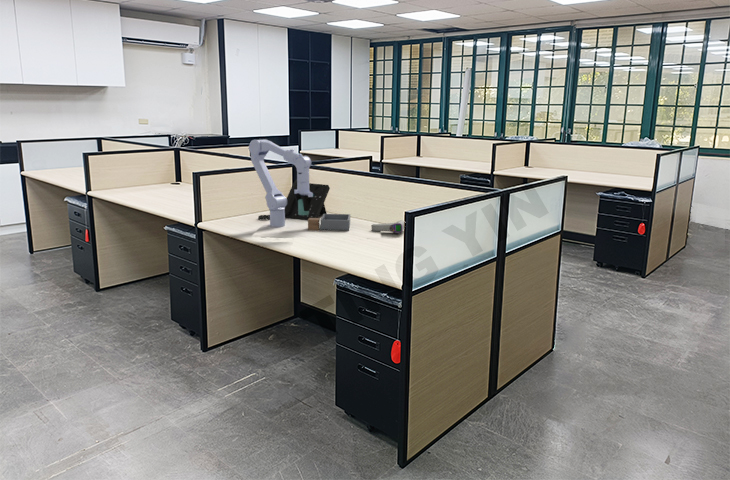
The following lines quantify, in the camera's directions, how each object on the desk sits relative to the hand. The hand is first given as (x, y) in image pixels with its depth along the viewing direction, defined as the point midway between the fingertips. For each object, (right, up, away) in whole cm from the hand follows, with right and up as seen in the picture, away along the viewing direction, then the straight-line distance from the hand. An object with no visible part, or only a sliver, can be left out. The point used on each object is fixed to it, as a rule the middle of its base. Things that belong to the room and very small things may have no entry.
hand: (303, 210), depth 263 cm
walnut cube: (+5, -9, +1) cm, 10 cm away
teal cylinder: (0, -2, 0) cm, 2 cm away
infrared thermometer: (+34, -8, +3) cm, 35 cm away
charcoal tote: (+15, -8, +7) cm, 18 cm away
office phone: (-9, -3, +31) cm, 33 cm away
